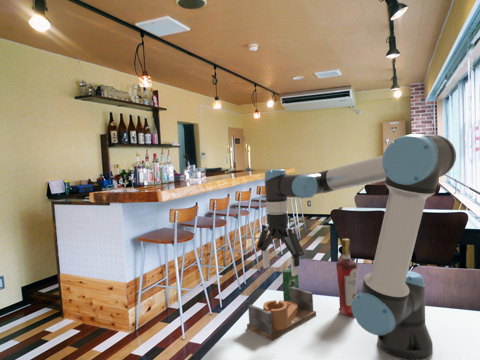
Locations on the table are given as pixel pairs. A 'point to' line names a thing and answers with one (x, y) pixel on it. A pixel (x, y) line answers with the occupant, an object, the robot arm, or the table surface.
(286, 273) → the coffee box
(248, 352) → the table surface
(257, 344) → the table surface
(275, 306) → the bracket
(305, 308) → the board
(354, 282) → the liquor
